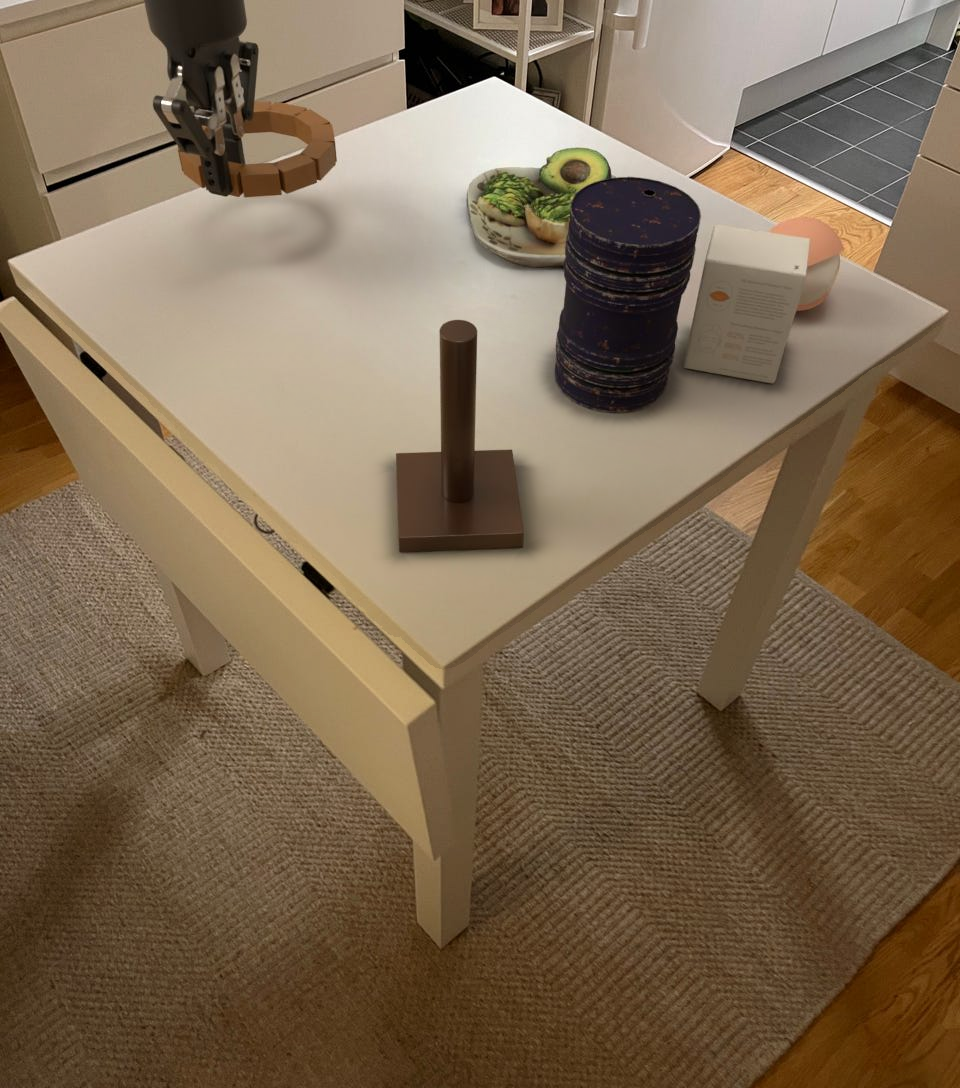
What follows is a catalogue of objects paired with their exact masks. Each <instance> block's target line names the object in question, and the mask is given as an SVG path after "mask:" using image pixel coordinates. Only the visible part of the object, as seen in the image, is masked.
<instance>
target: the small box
mask: <svg viewBox="0 0 960 1088" xmlns="http://www.w3.org/2000/svg"><path fill="white" fill-rule="evenodd" d="M809 248H810V238H802V237H795V236H789V235H782V234H776V233H769V231H762V230H755V229H749V228H742V227H737V226H729V225H723V224H719V223H718V224H715V225H714V226H713V228H712V233H711V237H710V240H709V244H708V247H707V251H706V254H705V255H706V256H705V260H704V264H703V267H702V268H703V269H702V273H701V278H700V284H699V287H698V293H697V297H696V301H695V306H694V311H693V317H692V321H691V327H690V332H689V335H688V341H687V345H686V351H685V356H684V361H683V368H684V369H688V370H692V371H693V370H694V371H700V372H705V373H710V374H716V375H722V376H728V377H733V378H739V379H745V380H749V381H750V380H751V381H754V382H755V381H756V382H761V383H762V382H763V383H768V384H774V383H775V382H776V380H777V377H778V372H779V370H780V366H781V364H782V363H781V362H782V359H783V355H784V353H785V349H786V346H787V342H788V339H789V335H790V332H791V329H792V325H793V323H794V320H795V316H796V313H797V311H796V310H797V306H798V303H799V300H800V296H801V293H802V290H803V286H804V283H805V279H806V273H807V265H808V256H809Z"/></svg>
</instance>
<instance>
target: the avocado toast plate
mask: <svg viewBox="0 0 960 1088" xmlns="http://www.w3.org/2000/svg"><path fill="white" fill-rule="evenodd" d="M609 178H617V176H615V175H613V174H612V169H611V166H610V164H609V161H608V160H607V158H606V157H605V156H604V155H603V154H602V153H601V152H599V151H597V150H594V149H591V148H587V147H570V148H569V147H568V148H563V149H560V150H557V151H555V152H554V153H553V154H552V155H551V156H547V158H546V163H545V164H543V165H542V166H541V167H521V166H519V167H518V166H517V167H516V166H510V167H509V166H508V167H497V168H493V169H492V168H491V169H489V170H486V171H484V172H483V173H480V174H479V175H477V176H476V177H474V178H473V179H472V180H471V182H470V183H469V184H468V187H467V191H466V201H465V202H466V207H467V209H468V213H469V219H470V225H471V228H472V231H473V235H474V238H475V239H476V240H477V241H478V242H479V244H481V245H482V246H483V247H484V248H485V249H487V250H488V251H490V252H492V253H494V254H496V255H497V256H499V257H501V258H504V259H505V260H507V261H509V262H511V263H513V264H518V265H520V266H524V267H530V268H531V267H533V268H543V267H564V260H565V257H566V256H565V246H566V236H567V233H568V227H569V221H570V206H571V201H572V199H573V197H574V196H575V194H576V193H577V192H578V191H579V190H580V189H582V188H583V187H585V186H587V185H589V184H591V183H593V182H597V181H600V180H604V179H609Z"/></svg>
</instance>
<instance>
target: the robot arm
mask: <svg viewBox="0 0 960 1088" xmlns="http://www.w3.org/2000/svg"><path fill="white" fill-rule="evenodd" d="M143 3H144V8H145V13H146V17H147V22H148V27H149V30H150V31H151V33H152V34H153V36H154V37H155V38H156V39H158V40H159V41H160V42H161V44H162V45H163V46H164V48H165V50H166V52H167V53H166V57H167V63H166V64H167V65H166V72H167V76H168V79H169V81H170V82H169V85H168V88H167V90H166V92H165V95H163V96H162V95H159V94H158V95H157V94H156V95H154V97H153V98H152V99H153V100H152V108H153V111H154V112H155V114H156V115H157V116H158V118H159V120H160V121H161V123H162V125H164V127H165V129H166V131H167V132H168V133H169V135H170V137H171V138H172V140H173V141H174V142H175V144H176V146H177V148H178V147H179V149H180V150H181V151H182V152H183V153H191V154H195V155H199V156H200V160H201V165H202V170H203V175H204V178H205V179H204V180H205V185H206V187H207V189H208V190H207V191H208V192H209V193H210V194H212V195H217V196H221V197H229V196H230V195H229V194H230V193H232V191H233V188H232V183H231V177H230V169H229V164H228V161H229V162H234V163H239V164H246V158H245V153H244V147H243V146H244V145H243V140H242V138H244V136H245V134H244V132H245V127H244V123H245V121H251V120H252V118H253V112H254V102H255V97H256V88H257V87H256V86H257V76H258V65H259V64H258V62H259V53H260V51H259V46H258V44H257V43H256V42H251V41H246V40H241V39H240V36H241V35H242V34H243V33H244V32H245V31H246V28H247V26H248V25H247V23H248V18H247V11H246V6H245V0H143ZM202 125H203V126H207V127H208V128H209V129H210V134H211V138H210V137H207V135H206V133H205V132H204V130H203V128H202ZM206 187H205V188H206Z"/></svg>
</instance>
